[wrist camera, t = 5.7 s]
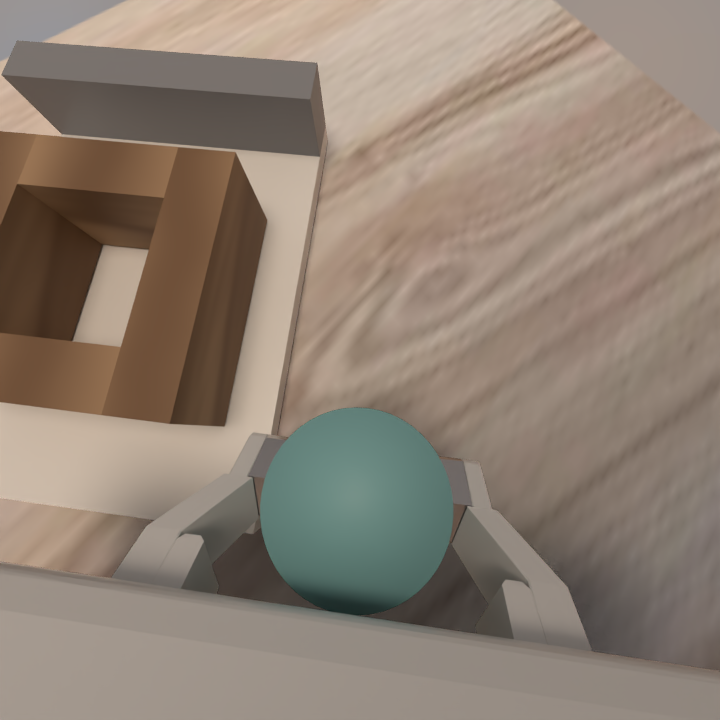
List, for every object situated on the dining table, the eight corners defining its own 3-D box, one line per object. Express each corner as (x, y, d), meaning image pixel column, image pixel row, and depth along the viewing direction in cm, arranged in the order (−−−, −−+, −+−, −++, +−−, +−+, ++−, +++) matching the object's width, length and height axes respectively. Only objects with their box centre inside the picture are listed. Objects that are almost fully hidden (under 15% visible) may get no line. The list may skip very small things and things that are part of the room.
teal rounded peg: (410, 426, 15) (459, 419, 7) (402, 521, 14) (446, 630, 6) (323, 416, 15) (278, 397, 7) (310, 508, 14) (242, 599, 6)
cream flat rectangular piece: (327, 141, 18) (317, 62, 15) (260, 527, 14) (220, 563, 10) (88, 121, 19) (16, 40, 15) (-45, 484, 15) (-192, 502, 11)
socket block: (267, 219, 16) (235, 151, 12) (224, 426, 14) (169, 424, 10) (73, 201, 17) (-18, 129, 13) (2, 398, 15) (-131, 385, 11)
